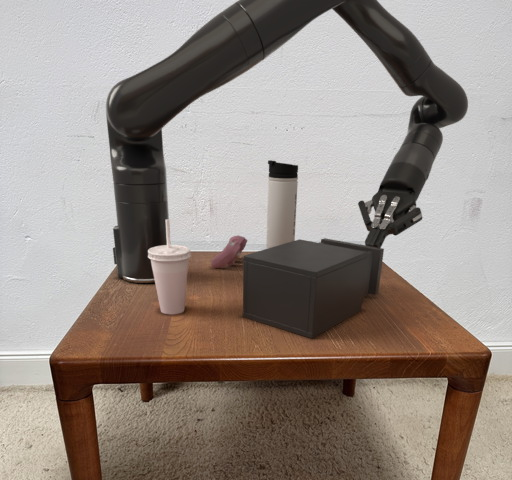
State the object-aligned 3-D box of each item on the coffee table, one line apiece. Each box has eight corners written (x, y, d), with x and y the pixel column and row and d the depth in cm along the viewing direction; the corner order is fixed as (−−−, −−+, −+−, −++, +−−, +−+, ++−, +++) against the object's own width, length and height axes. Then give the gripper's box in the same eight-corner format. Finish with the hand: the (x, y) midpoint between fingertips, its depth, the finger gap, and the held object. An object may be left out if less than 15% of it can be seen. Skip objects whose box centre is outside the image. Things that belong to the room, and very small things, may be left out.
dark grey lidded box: (296, 293, 85) (299, 239, 81) (361, 310, 78) (367, 251, 74) (242, 316, 75) (243, 255, 71) (312, 338, 68) (316, 272, 64)
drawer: (332, 275, 93) (336, 234, 90) (388, 287, 86) (394, 244, 83) (278, 298, 80) (279, 251, 77) (338, 315, 74) (343, 265, 71)
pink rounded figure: (228, 277, 99) (243, 247, 95) (208, 266, 98) (223, 236, 95) (239, 264, 107) (253, 237, 104) (221, 254, 107) (235, 226, 104)
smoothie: (191, 302, 80) (187, 216, 75) (195, 316, 75) (191, 224, 69) (151, 304, 79) (144, 217, 73) (152, 318, 73) (145, 225, 68)
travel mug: (259, 252, 111) (261, 159, 103) (284, 249, 114) (288, 158, 106) (274, 259, 106) (277, 161, 98) (299, 256, 109) (304, 161, 101)
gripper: (370, 158, 94) (333, 231, 90) (438, 162, 87) (400, 242, 83) (379, 184, 100) (344, 254, 96) (443, 191, 93) (408, 266, 89)
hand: (370, 248), depth 90 cm, fingers closed
